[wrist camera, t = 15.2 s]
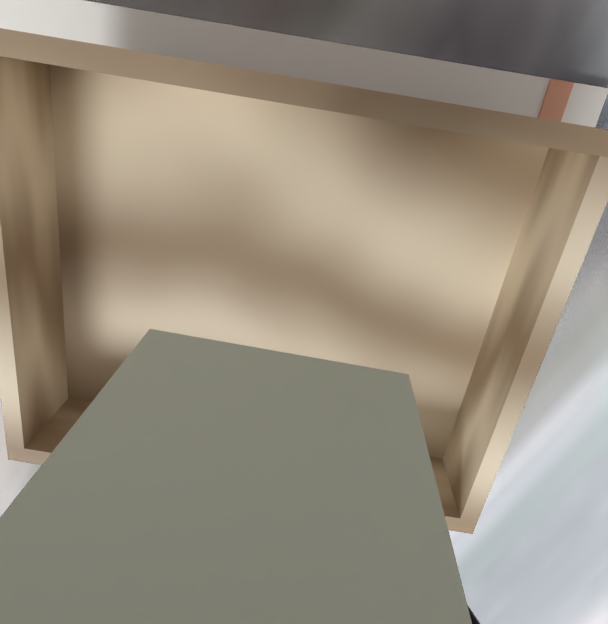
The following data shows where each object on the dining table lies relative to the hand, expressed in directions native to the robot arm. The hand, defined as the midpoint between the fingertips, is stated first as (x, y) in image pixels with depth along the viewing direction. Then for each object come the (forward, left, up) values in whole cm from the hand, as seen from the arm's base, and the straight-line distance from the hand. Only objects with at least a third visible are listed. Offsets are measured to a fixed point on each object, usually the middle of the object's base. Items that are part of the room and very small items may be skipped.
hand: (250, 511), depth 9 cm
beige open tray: (+1, +1, -13) cm, 13 cm away
